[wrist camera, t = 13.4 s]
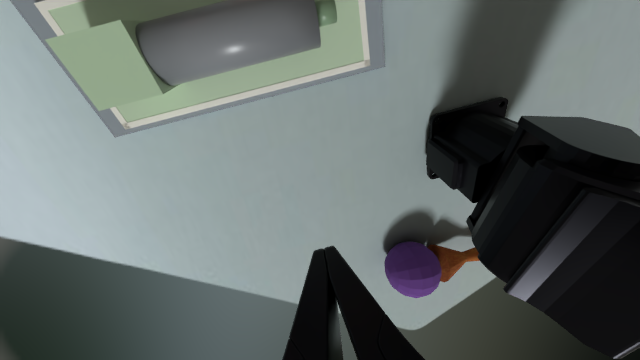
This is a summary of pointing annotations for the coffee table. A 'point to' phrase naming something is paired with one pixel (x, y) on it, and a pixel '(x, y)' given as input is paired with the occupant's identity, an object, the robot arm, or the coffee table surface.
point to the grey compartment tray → (226, 88)
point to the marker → (187, 46)
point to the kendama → (423, 267)
